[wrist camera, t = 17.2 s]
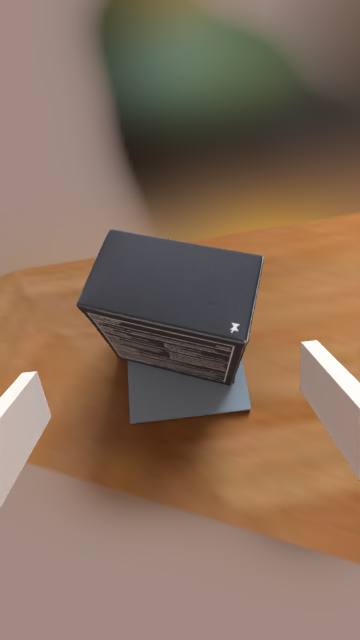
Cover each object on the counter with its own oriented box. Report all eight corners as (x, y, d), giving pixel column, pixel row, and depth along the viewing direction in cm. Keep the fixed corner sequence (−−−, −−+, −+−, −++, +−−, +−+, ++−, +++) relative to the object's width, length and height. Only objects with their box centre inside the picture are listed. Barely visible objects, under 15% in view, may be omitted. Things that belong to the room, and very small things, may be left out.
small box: (246, 319, 29) (269, 250, 19) (233, 388, 27) (251, 349, 17) (137, 295, 31) (109, 222, 21) (115, 359, 28) (71, 308, 19)
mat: (224, 276, 32) (225, 273, 31) (250, 409, 26) (251, 408, 26) (125, 288, 32) (124, 285, 31) (131, 424, 27) (129, 423, 26)
